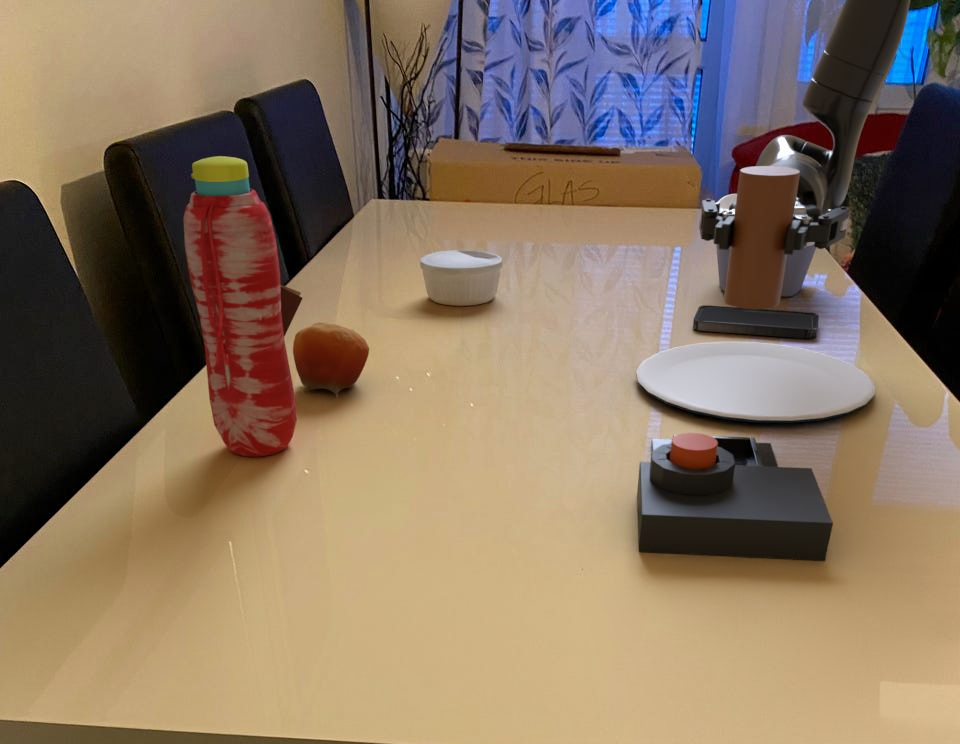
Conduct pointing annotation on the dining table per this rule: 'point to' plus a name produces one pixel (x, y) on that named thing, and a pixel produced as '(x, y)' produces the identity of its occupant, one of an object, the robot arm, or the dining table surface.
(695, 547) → the red push button box
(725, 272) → the white and lavender bin
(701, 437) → the button
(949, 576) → the dining table surface
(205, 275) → the water bottle
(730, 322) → the phone
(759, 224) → the tall brown tube
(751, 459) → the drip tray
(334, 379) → the fruit
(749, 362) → the plate
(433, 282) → the ramekin
